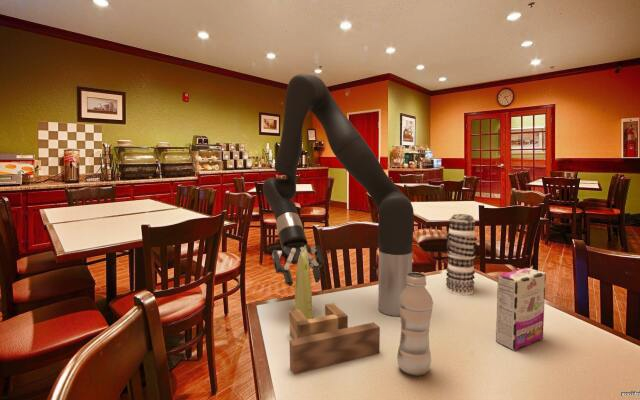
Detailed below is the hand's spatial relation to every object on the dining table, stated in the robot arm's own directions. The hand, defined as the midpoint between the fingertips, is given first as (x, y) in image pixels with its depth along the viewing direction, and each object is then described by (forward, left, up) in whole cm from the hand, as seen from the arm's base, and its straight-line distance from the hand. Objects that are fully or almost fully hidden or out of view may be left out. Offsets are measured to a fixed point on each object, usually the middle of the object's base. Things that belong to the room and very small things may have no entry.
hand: (304, 282), depth 91 cm
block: (0, +9, -10) cm, 14 cm away
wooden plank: (0, +20, -10) cm, 23 cm away
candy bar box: (-43, +29, -11) cm, 53 cm away
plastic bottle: (-13, +29, -11) cm, 34 cm away
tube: (0, -2, -11) cm, 11 cm away
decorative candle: (-54, -1, -11) cm, 55 cm away
